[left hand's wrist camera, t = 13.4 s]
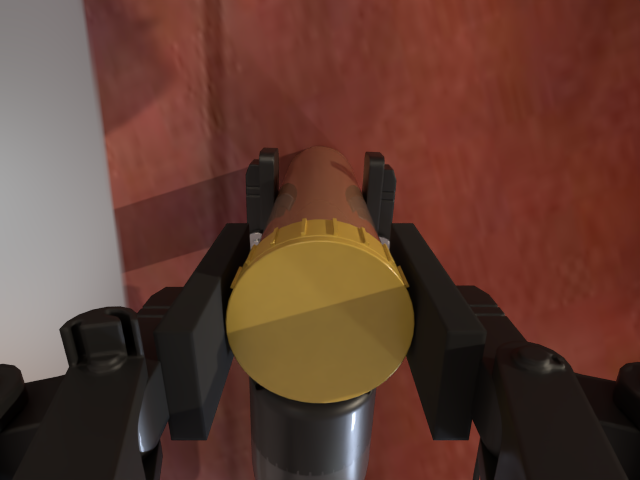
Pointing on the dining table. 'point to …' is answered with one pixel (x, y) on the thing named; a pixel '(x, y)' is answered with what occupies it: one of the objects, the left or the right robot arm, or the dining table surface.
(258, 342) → the lid
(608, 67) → the dining table surface
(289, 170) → the jar
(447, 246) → the dining table surface
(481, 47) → the dining table surface
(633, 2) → the dining table surface
